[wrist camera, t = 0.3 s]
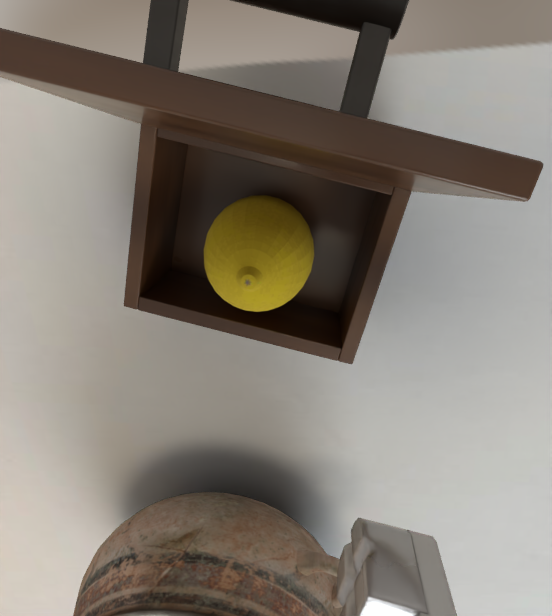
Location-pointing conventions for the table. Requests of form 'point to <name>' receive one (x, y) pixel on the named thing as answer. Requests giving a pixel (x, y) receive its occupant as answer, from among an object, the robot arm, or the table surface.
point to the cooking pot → (210, 563)
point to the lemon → (258, 253)
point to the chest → (240, 184)
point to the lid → (273, 104)
